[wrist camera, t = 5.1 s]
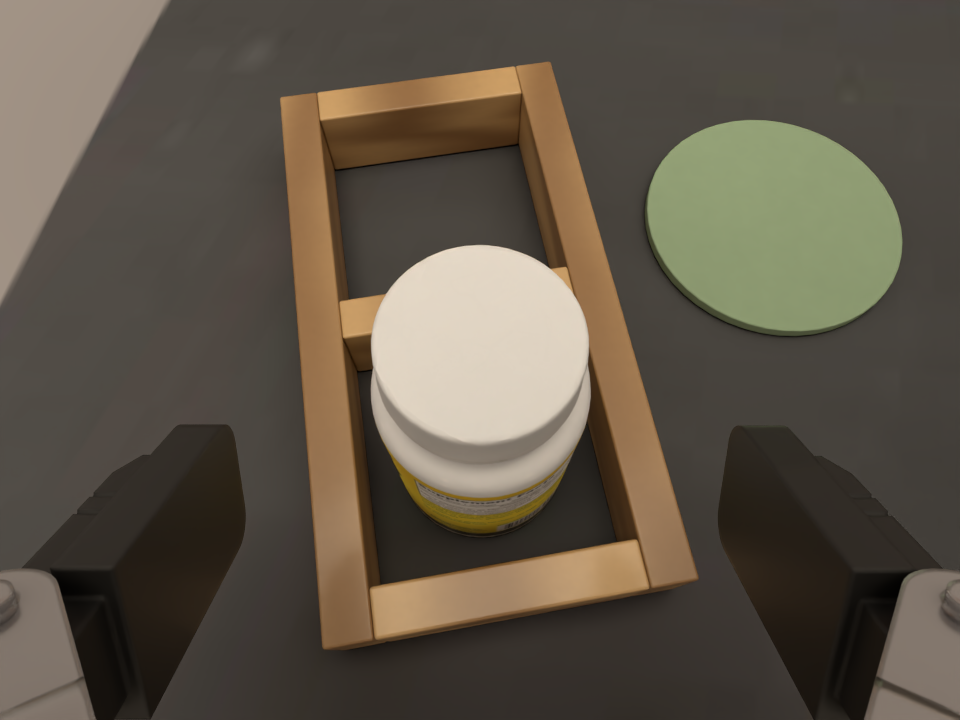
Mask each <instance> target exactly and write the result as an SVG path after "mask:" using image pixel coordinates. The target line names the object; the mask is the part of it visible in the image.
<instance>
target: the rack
mask: <svg viewBox="0 0 960 720" xmlns="http://www.w3.org/2000/svg"><path fill="white" fill-rule="evenodd" d="M280 104H281V117H282V130H283V143H284V156H285V169H286V182H287V195H288V208H289V221H290V234H291V247H292V260H293V273H294V286H295V299H296V312H297V325H298V338H299V351H300V364H301V377H302V390H303V403H304V416H305V429H306V442H307V455H308V468H309V481H310V494H311V507H312V520H313V533H314V546H315V559H316V572H317V585H318V598H319V611H320V624H321V637H322V647H323V649H325V650H348V649H354V648H359V647H364V646H370V645H375V644H380V643H385V642H386V641H390V642H391V641H396V640H402V639H407V638H412V637H418V636H423V635H428V634H434V633H439V632H444V631H450V630H455V629H460V628H466V627H471V626H476V625H482V624H487V623H492V622H498V621H503V620H509V619H514V618H519V617H525V616H530V615H535V614H541V613H546V612H551V611H557V610H562V609H567V608H573V607H578V606H583V605H589V604H594V603H599V602H605V601H610V600H616V599H621V598H626V597H630V596H637V595H642V594H648V593H653V592H658V591H664V590H669V589H673V588H676V587H679V586H682V585H685V584H688V583H691V582H694V581H697V580H698V574H697V570H696V567H695V563H694V560H693V556H692V553H691V549H690V546H689V542H688V539H687V535H686V532H685V528H684V525H683V521H682V518H681V514H680V511H679V507H678V504H677V501H676V497H675V494H674V490H673V487H672V483H671V480H670V476H669V473H668V469H667V466H666V462H665V459H664V455H663V452H662V448H661V445H660V441H659V438H658V434H657V431H656V428H655V424H654V421H653V417H652V414H651V410H650V407H649V403H648V400H647V396H646V393H645V389H644V386H643V382H642V379H641V375H640V372H639V368H638V365H637V361H636V358H635V355H634V351H633V348H632V344H631V341H630V337H629V334H628V330H627V327H626V323H625V320H624V316H623V313H622V309H621V306H620V302H619V299H618V295H617V292H616V288H615V285H614V281H613V278H612V275H611V271H610V268H609V264H608V261H607V257H606V254H605V250H604V247H603V243H602V240H601V236H600V233H599V229H598V226H597V222H596V219H595V215H594V212H593V208H592V205H591V202H590V198H589V195H588V191H587V188H586V184H585V181H584V177H583V174H582V170H581V167H580V163H579V160H578V156H577V153H576V149H575V146H574V142H573V139H572V135H571V132H570V129H569V125H568V122H567V118H566V115H565V111H564V108H563V104H562V101H561V97H560V94H559V90H558V87H557V83H556V80H555V76H554V73H553V69H552V66H551V63H550V62H544V63H536V64H529V65H521V66H516V69H515V67H507V68H499V69H492V70H484V71H477V72H469V73H461V74H454V75H446V76H439V77H431V78H424V79H416V80H409V81H401V82H394V83H386V84H379V85H371V86H363V87H356V88H348V89H341V90H333V91H326V92H319V93H318V94H316V93H310V94H303V95H295V96H288V97H281V99H280ZM518 143H519V147H520V151H521V155H522V159H523V163H524V167H525V171H526V175H527V179H528V183H529V187H530V191H531V196H532V200H533V204H534V208H535V212H536V216H537V220H538V224H539V228H540V232H541V236H542V240H543V244H544V248H545V252H546V256H547V260H548V264H549V268H550V269H551V270H552V271H553V272H554V273H556V274H557V275H558V276H559V277H560V278H561V279H562V280H563V281H564V282H565V284H566V285H567V286H568V287H569V289H570V290H571V291H572V293H573V294H574V296H575V298H576V299H577V301H578V303H579V305H580V307H581V309H582V312H583V314H584V317H585V320H586V324H587V328H588V334H589V357H588V369H589V375H590V387H591V399H590V407H589V413H588V418H587V422H588V426H589V430H590V434H591V438H592V442H593V446H594V450H595V454H596V458H597V462H598V466H599V470H600V474H601V478H602V482H603V486H604V490H605V494H606V498H607V503H608V507H609V511H610V515H611V519H612V523H613V527H614V531H615V535H616V539H617V542H615V543H610V544H604V545H599V546H593V547H588V548H582V549H576V550H571V551H565V552H560V553H554V554H549V555H543V556H538V557H532V558H527V559H521V560H516V561H510V562H505V563H499V564H494V565H488V566H483V567H477V568H472V569H466V570H461V571H455V572H450V573H444V574H439V575H433V576H428V577H422V578H417V579H411V580H405V581H400V582H394V583H389V584H383V585H381V582H380V573H379V564H378V555H377V546H376V537H375V528H374V519H373V510H372V501H371V492H370V483H369V474H368V465H367V456H366V447H365V438H364V429H363V420H362V412H361V403H360V394H359V385H358V376H357V370H358V371H364V370H370V369H373V363H372V354H371V336H372V328H373V324H374V320H375V317H376V314H377V311H378V309H379V307H380V304H381V302H382V300H383V299H384V297H385V295H386V294H384V295H377V296H371V297H364V298H358V299H351V300H349V295H348V286H347V277H346V268H345V259H344V250H343V242H342V233H341V224H340V215H339V206H338V197H337V188H336V179H335V170H334V168H335V169H344V168H351V167H358V166H365V165H373V164H380V163H387V162H394V161H401V160H408V159H415V158H422V157H430V156H437V155H444V154H451V153H458V152H465V151H472V150H480V149H487V148H494V147H501V146H508V145H515V144H518Z"/></svg>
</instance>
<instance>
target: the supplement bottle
mask: <svg viewBox="0 0 960 720" xmlns="http://www.w3.org/2000/svg"><path fill="white" fill-rule="evenodd" d="M371 354H372V363H373V372H372V379H371V402H372V410H373V415H374V419H375V423H376V426H377V429H378V431H379V434H380V436H381V439H382V441H383V443H384V445H385V447H386V448H387V450H388V452H389V454H390V456H391V459H392V461H393V463H394V465H395V467H396V469H397V471H398V473H399V475H400V477H401V479H402V481H403V483H404V485H405V487H406V489H407V491H408V493H409V495H410V496H411V498H412V500H413V501H414V502H415V504H416V505H417V507H418V508H419V509H420V510H421V511H422V512H423V513H424V514H425V515H426V516H427V517H428V518H429V519H431V520H432V521H433V522H435V523H436V524H438V525H439V526H441V527H443V528H445V529H447V530H449V531H451V532H454V533H457V534H461V535H465V536H472V537H492V536H497V535H503V534H506V533H509V532H512V531H514V530H516V529H519V528H520V527H522V526H524V525H525V524H527V523H529V522H530V521H531V520H533V519H534V518H535V517H536V516H537V515H538V514H539V513H540V512H541V511H542V510H543V509H544V508H545V507H546V506H547V504H548V503H549V501H550V500H551V499H552V497H553V495H554V493H555V492H556V490H557V488H558V485H559V483H560V481H561V479H562V477H563V475H564V472H565V470H566V468H567V466H568V464H569V462H570V459H571V457H572V454H573V452H574V450H575V448H576V446H577V444H578V442H579V440H580V438H581V436H582V433H583V431H584V429H585V425H586V422H587V418H588V413H589V407H590V399H591V387H590V375H589V369H588V357H589V334H588V328H587V324H586V320H585V317H584V314H583V312H582V309H581V307H580V305H579V303H578V301H577V299H576V298H575V296H574V294H573V293H572V291H571V290H570V289H569V287H568V286H567V285H566V284H565V282H564V281H563V280H562V279H561V278H560V277H559V276H558V275H557V274H556V273H554V272H553V271H552V270H551V269H550V268H548V267H547V266H546V265H544V264H543V263H541V262H539V261H538V260H536V259H534V258H532V257H530V256H528V255H525V254H523V253H520V252H517V251H514V250H511V249H507V248H502V247H497V246H488V245H474V246H462V247H457V248H452V249H448V250H444V251H442V252H439V253H437V254H434V255H432V256H430V257H428V258H426V259H424V260H422V261H421V262H419V263H417V264H415V265H414V266H413V267H411V268H410V269H409V270H407V271H406V272H405V273H404V274H403V275H402V276H401V277H400V278H399V279H398V280H397V281H396V282H395V283H394V284H393V286H392V287H391V288H390V289H389V291H388V292H387V294H386V295H385V297H384V299H383V300H382V302H381V304H380V307H379V309H378V311H377V314H376V317H375V320H374V324H373V328H372V336H371Z"/></svg>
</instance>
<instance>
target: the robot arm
mask: <svg viewBox="0 0 960 720" xmlns="http://www.w3.org/2000/svg"><path fill="white" fill-rule="evenodd" d="M245 520H246V513H245V503H244V497H243V490H242V483H241V477H240V470H239V463H238V457H237V450H236V443H235V438H234V434H233V431H232V429H231V428H230V427H229V426H228V425H178V426H176V427H175V428H174V429H173V430H172V431H171V433H170V434H169V435H168V436H167V437H166V438H165V439H164V440H163V442H162V443H161V444H160V445H159V446H158V447H157V448H156V449H155V450H154V452H153V453H152V454H151V455H142V456H140V457H139V458H137V459H135V460H133V461H132V462H130V463H128V464H127V465H125V466H123V467H121V468H120V469H118V470H116V471H115V472H113V473H112V474H111V475H110V476H109V477H108V478H107V479H106V480H105V481H104V482H103V483H102V484H101V486H100V487H99V488H98V489H97V490H96V491H95V492H94V496H93V497H89V498H88V499H87V500H86V501H85V502H84V503H83V504H82V505H81V507H80V508H79V509H78V510H77V514H73V515H72V516H71V517H70V518H69V519H68V520H67V521H66V522H65V523H64V524H63V525H62V526H61V528H60V529H59V530H58V531H57V532H56V533H55V534H54V535H53V536H52V537H51V538H50V539H49V540H48V541H47V542H46V543H45V544H44V545H43V546H42V547H41V549H40V550H39V551H38V552H37V553H36V554H35V555H34V556H33V557H32V558H31V559H30V560H29V561H28V562H27V563H26V564H25V565H24V566H23V567H22V568H21V569H11V570H5V571H0V720H114V719H151V717H152V715H153V713H154V711H155V710H156V708H157V706H158V704H159V702H160V700H161V698H162V696H163V694H164V692H165V690H166V688H167V687H168V685H169V683H170V681H171V679H172V677H173V675H174V673H175V671H176V669H177V667H178V665H179V664H180V662H181V660H182V658H183V656H184V654H185V652H186V650H187V648H188V646H189V644H190V642H191V640H192V639H193V637H194V635H195V633H196V631H197V629H198V627H199V625H200V623H201V621H202V619H203V617H204V616H205V614H206V612H207V610H208V608H209V606H210V604H211V602H212V600H213V598H214V596H215V594H216V593H217V591H218V589H219V587H220V585H221V583H222V581H223V579H224V577H225V575H226V573H227V571H228V570H229V568H230V566H231V564H232V562H233V560H234V558H235V556H236V554H237V552H238V550H239V548H240V546H241V543H242V540H243V536H244V530H245ZM718 527H719V534H720V539H721V543H722V546H723V548H724V550H725V552H726V554H727V556H728V558H729V560H730V562H731V564H732V566H733V567H734V569H735V571H736V573H737V575H738V577H739V579H740V581H741V583H742V585H743V586H744V588H745V590H746V592H747V594H748V596H749V598H750V600H751V602H752V603H753V605H754V607H755V609H756V611H757V613H758V615H759V617H760V619H761V621H762V622H763V624H764V626H765V628H766V630H767V632H768V634H769V636H770V638H771V639H772V641H773V643H774V645H775V647H776V649H777V651H778V653H779V655H780V657H781V658H782V660H783V662H784V664H785V666H786V668H787V670H788V672H789V674H790V675H791V677H792V679H793V681H794V683H795V685H796V687H797V689H798V691H799V693H800V694H801V696H802V698H803V700H804V702H805V704H806V706H807V708H808V710H809V711H810V713H811V715H812V717H813V719H814V720H960V571H955V570H949V569H943V568H942V567H941V566H940V565H939V564H938V563H937V562H936V561H935V560H934V559H933V558H932V557H931V556H930V555H929V554H928V553H927V552H926V551H925V550H924V549H923V547H922V546H921V545H920V544H919V543H918V542H917V541H916V540H915V539H914V538H913V537H912V536H911V535H910V534H909V533H908V532H907V531H906V530H905V529H904V528H903V527H902V526H901V525H900V524H899V523H898V521H897V520H896V519H895V518H894V517H893V516H888V511H887V510H886V509H885V508H884V507H883V506H882V505H881V504H880V503H879V502H878V501H877V500H876V499H875V498H871V493H870V492H869V491H868V490H867V489H866V488H865V487H864V486H863V485H862V484H861V483H860V482H859V481H858V480H857V479H856V478H855V477H854V476H853V475H852V474H851V473H850V472H848V471H846V470H844V469H843V468H841V467H839V466H837V465H836V464H834V463H832V462H831V461H829V460H827V459H825V458H824V457H822V456H813V454H812V453H811V452H810V451H809V450H808V449H807V448H806V447H805V446H804V444H803V443H802V442H801V441H800V440H799V439H798V438H797V437H796V436H795V435H794V433H793V432H792V431H791V430H790V429H789V428H788V427H786V426H736V427H735V428H734V429H733V430H732V432H731V435H730V438H729V443H728V449H727V456H726V463H725V469H724V476H723V482H722V489H721V495H720V502H719V509H718Z"/></svg>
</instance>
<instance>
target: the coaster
mask: <svg viewBox="0 0 960 720" xmlns="http://www.w3.org/2000/svg"><path fill="white" fill-rule="evenodd" d="M645 225H646V231H647V235H648V239H649V243H650V245H651V248H652V250H653V253H654V255H655V257H656V259H657V261H658V263H659V264H660V266H661V268H662V270H663V271H664V272H665V274H666V275H667V276H668V278H669V279H670V280H671V282H672V283H673V284H674V285H675V286H676V287H677V288H678V289H679V290H680V291H681V292H682V293H683V294H684V295H685V296H686V297H688V298H689V299H690V300H691V301H692V302H694V303H695V304H696V305H697V306H699V307H700V308H702V309H704V310H705V311H707V312H708V313H710V314H711V315H713V316H715V317H717V318H719V319H721V320H723V321H725V322H727V323H730V324H733V325H735V326H738V327H741V328H743V329H747V330H751V331H755V332H759V333H764V334H771V335H778V336H801V335H811V334H817V333H822V332H826V331H830V330H833V329H836V328H838V327H841V326H843V325H846V324H848V323H849V322H851V321H853V320H855V319H857V318H858V317H860V316H861V315H862V314H864V313H865V312H866V311H868V310H869V309H870V308H871V307H872V306H874V305H875V304H876V303H877V302H878V301H879V299H880V298H881V297H882V296H883V295H884V294H885V293H886V291H887V290H888V288H889V287H890V285H891V284H892V282H893V280H894V278H895V275H896V273H897V271H898V268H899V263H900V259H901V254H902V233H901V226H900V222H899V218H898V214H897V211H896V209H895V207H894V204H893V202H892V200H891V198H890V196H889V194H888V193H887V191H886V189H885V188H884V186H883V185H882V183H881V182H880V181H879V180H878V178H877V177H876V176H875V174H874V173H873V172H872V171H871V170H870V169H869V168H868V167H867V166H866V165H865V164H864V163H863V162H862V161H861V160H859V159H858V158H857V157H856V156H855V155H853V154H852V153H851V152H849V151H848V150H846V149H845V148H844V147H842V146H841V145H839V144H837V143H835V142H834V141H832V140H830V139H828V138H826V137H824V136H822V135H820V134H817V133H815V132H813V131H810V130H807V129H804V128H801V127H798V126H795V125H790V124H786V123H781V122H774V121H765V120H744V121H733V122H728V123H723V124H719V125H715V126H712V127H709V128H706V129H704V130H702V131H699V132H697V133H695V134H693V135H691V136H690V137H688V138H687V139H685V140H684V141H682V142H681V143H679V144H678V145H677V146H676V147H675V148H674V149H672V150H671V151H670V152H669V154H668V155H667V156H666V157H665V158H664V159H663V160H662V162H661V164H660V165H659V167H658V168H657V170H656V172H655V174H654V176H653V179H652V181H651V184H650V186H649V189H648V194H647V198H646V203H645Z"/></svg>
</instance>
